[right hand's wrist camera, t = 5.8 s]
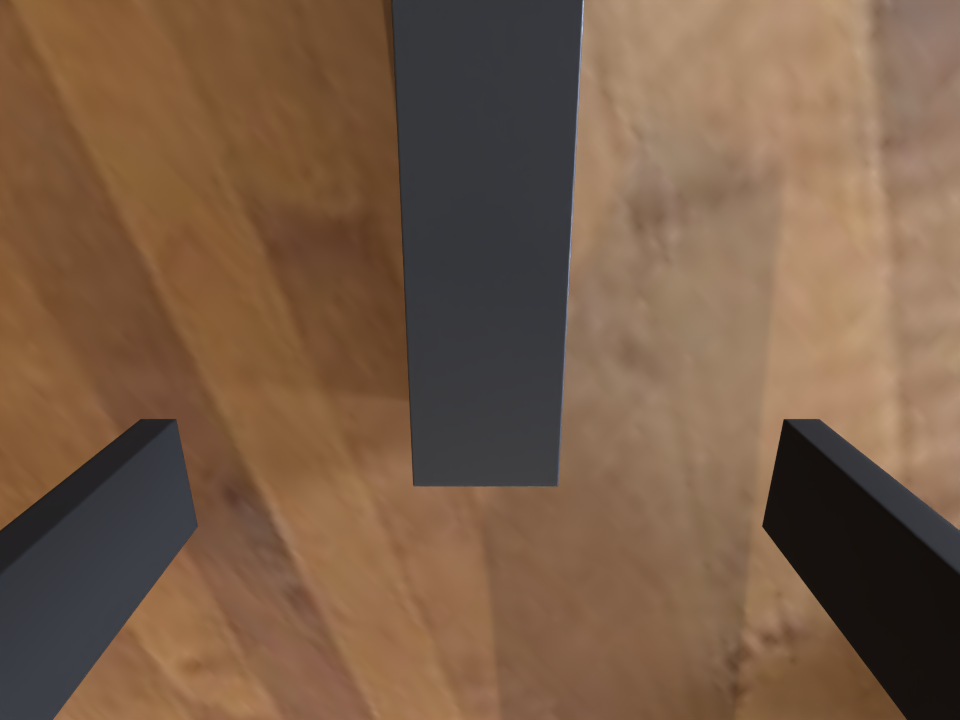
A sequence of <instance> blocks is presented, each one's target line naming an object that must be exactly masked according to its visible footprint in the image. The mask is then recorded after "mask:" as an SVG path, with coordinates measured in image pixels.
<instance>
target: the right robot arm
mask: <svg viewBox="0 0 960 720" xmlns="http://www.w3.org/2000/svg"><path fill="white" fill-rule="evenodd" d="M197 527H198V525H197V520H196V515H195V510H194V505H193V500H192V495H191V490H190V485H189V480H188V475H187V470H186V466H185V461H184V456H183V451H182V446H181V441H180V436H179V431H178V426H177V421H176V419H140V420H139V421H138V422H137V423H135V424H134V425H133V426H132V427H130V428H129V429H128V430H127V431H125V432H124V433H123V434H122V435H120V436H119V437H118V438H116V439H115V440H114V441H113V442H111V443H110V444H109V445H108V446H106V447H105V448H104V449H103V450H101V451H100V452H99V453H98V454H96V455H95V456H94V457H93V458H91V459H90V460H89V461H88V462H86V463H85V464H84V465H82V466H81V467H80V468H79V469H77V470H76V471H75V472H74V473H72V474H71V475H70V476H69V477H67V478H66V479H65V480H64V481H62V482H61V483H60V484H59V485H57V486H56V487H55V488H54V489H52V490H51V491H50V492H48V493H47V494H46V495H45V496H43V497H42V498H41V499H40V500H38V501H37V502H36V503H35V504H33V505H32V506H31V507H30V508H28V509H27V510H26V511H25V512H23V513H22V514H21V515H19V516H18V517H17V518H16V519H14V520H13V521H12V522H11V523H9V524H8V525H7V526H6V527H4V528H3V529H2V530H1V531H0V720H53V719H54V717H55V716H56V715H57V713H58V712H59V711H60V709H61V708H62V707H63V705H64V704H65V703H66V701H67V700H68V699H69V697H70V696H71V695H72V693H73V692H74V691H75V689H76V688H77V687H78V685H79V684H80V683H81V681H82V680H83V679H84V677H85V676H86V675H87V673H88V672H89V671H90V669H91V668H92V667H93V665H94V664H95V663H96V661H97V660H98V659H99V657H100V656H101V655H102V653H103V652H104V651H105V649H106V648H107V647H108V645H109V644H110V643H111V641H112V640H113V639H114V637H115V636H116V635H117V633H118V632H119V631H120V629H121V628H122V627H123V625H124V624H125V623H126V621H127V620H128V619H129V617H130V616H131V615H132V613H133V612H134V611H135V609H136V608H137V607H138V605H139V604H140V603H141V601H142V600H143V599H144V597H145V596H146V595H147V593H148V592H149V591H150V589H151V588H152V587H153V585H154V584H155V583H156V581H157V580H158V579H159V577H160V576H161V575H162V573H163V572H164V571H165V569H166V568H167V567H168V565H169V564H170V563H171V561H172V560H173V559H174V557H175V556H176V555H177V553H178V552H179V551H180V549H181V548H182V547H183V545H184V544H185V543H186V541H187V540H188V539H189V537H190V536H191V535H192V533H193V532H194V531H195V529H196V528H197ZM762 527H763V528H764V529H765V531H766V532H767V533H768V535H769V536H770V537H771V539H772V540H773V541H774V543H775V544H776V545H777V547H778V548H779V549H780V551H781V552H782V553H783V555H784V556H785V557H786V559H787V560H788V561H789V563H790V564H791V565H792V567H793V568H794V569H795V571H796V572H797V573H798V575H799V576H800V577H801V579H802V580H803V581H804V583H805V584H806V585H807V587H808V588H809V589H810V591H811V592H812V593H813V595H814V596H815V597H816V599H817V600H818V601H819V603H820V604H821V605H822V607H823V608H824V609H825V611H826V612H827V613H828V615H829V616H830V617H831V619H832V620H833V621H834V623H835V624H836V625H837V627H838V628H839V629H840V631H841V632H842V633H843V635H844V636H845V637H846V639H847V640H848V641H849V643H850V644H851V645H852V647H853V648H854V649H855V651H856V652H857V653H858V655H859V656H860V657H861V659H862V660H863V661H864V663H865V664H866V665H867V667H868V668H869V669H870V671H871V672H872V673H873V675H874V676H875V677H876V679H877V680H878V681H879V683H880V684H881V685H882V687H883V688H884V689H885V691H886V692H887V693H888V695H889V696H890V697H891V699H892V700H893V701H894V703H895V704H896V705H897V707H898V708H899V709H900V711H901V712H902V713H903V715H904V716H905V717H906V719H907V720H960V531H959V530H958V529H957V528H956V527H954V526H953V525H952V524H951V523H949V522H948V521H947V520H946V519H944V518H943V517H942V516H941V515H939V514H938V513H937V512H935V511H934V510H933V509H932V508H930V507H929V506H928V505H927V504H925V503H924V502H923V501H922V500H920V499H919V498H918V497H917V496H915V495H914V494H913V493H912V492H910V491H909V490H908V489H906V488H905V487H904V486H903V485H901V484H900V483H899V482H898V481H896V480H895V479H894V478H893V477H891V476H890V475H889V474H888V473H886V472H885V471H884V470H883V469H881V468H880V467H879V466H878V465H876V464H875V463H874V462H872V461H871V460H870V459H869V458H867V457H866V456H865V455H864V454H862V453H861V452H860V451H859V450H857V449H856V448H855V447H854V446H852V445H851V444H850V443H849V442H847V441H846V440H845V439H844V438H842V437H841V436H840V435H838V434H837V433H836V432H835V431H833V430H832V429H831V428H830V427H828V426H827V425H826V424H825V423H823V422H822V421H821V420H820V419H784V421H783V426H782V431H781V436H780V441H779V446H778V451H777V456H776V461H775V466H774V470H773V475H772V480H771V485H770V490H769V495H768V500H767V505H766V510H765V515H764V520H763V525H762Z"/></svg>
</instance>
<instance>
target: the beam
mask: <svg viewBox="0 0 960 720" xmlns="http://www.w3.org/2000/svg"><path fill="white" fill-rule="evenodd" d="M391 1H392V23H393V46H394V68H395V90H396V112H397V135H398V157H399V179H400V202H401V224H402V246H403V268H404V291H405V313H406V335H407V358H408V380H409V402H410V424H411V447H412V469H413V485H414V486H446V487H558V480H559V462H560V443H561V424H562V405H563V387H564V368H565V349H566V330H567V311H568V293H569V274H570V255H571V236H572V218H573V199H574V180H575V161H576V143H577V124H578V105H579V86H580V67H581V49H582V30H583V11H584V0H391Z"/></svg>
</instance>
